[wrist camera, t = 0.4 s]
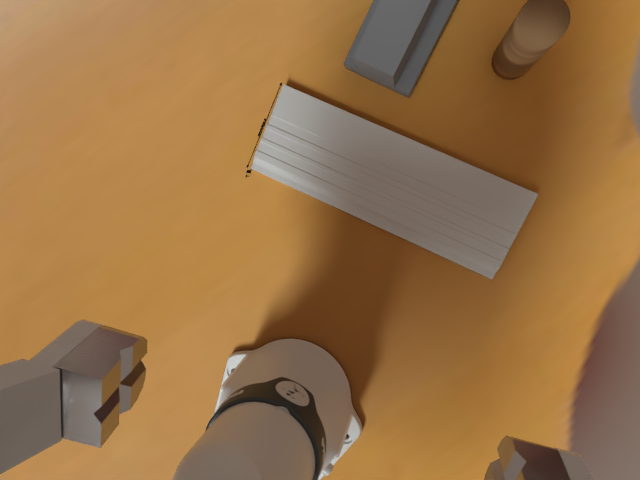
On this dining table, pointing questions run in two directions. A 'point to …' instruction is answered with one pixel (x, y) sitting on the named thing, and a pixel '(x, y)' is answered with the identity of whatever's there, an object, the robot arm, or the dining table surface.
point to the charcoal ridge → (398, 41)
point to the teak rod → (530, 36)
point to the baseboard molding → (392, 181)
